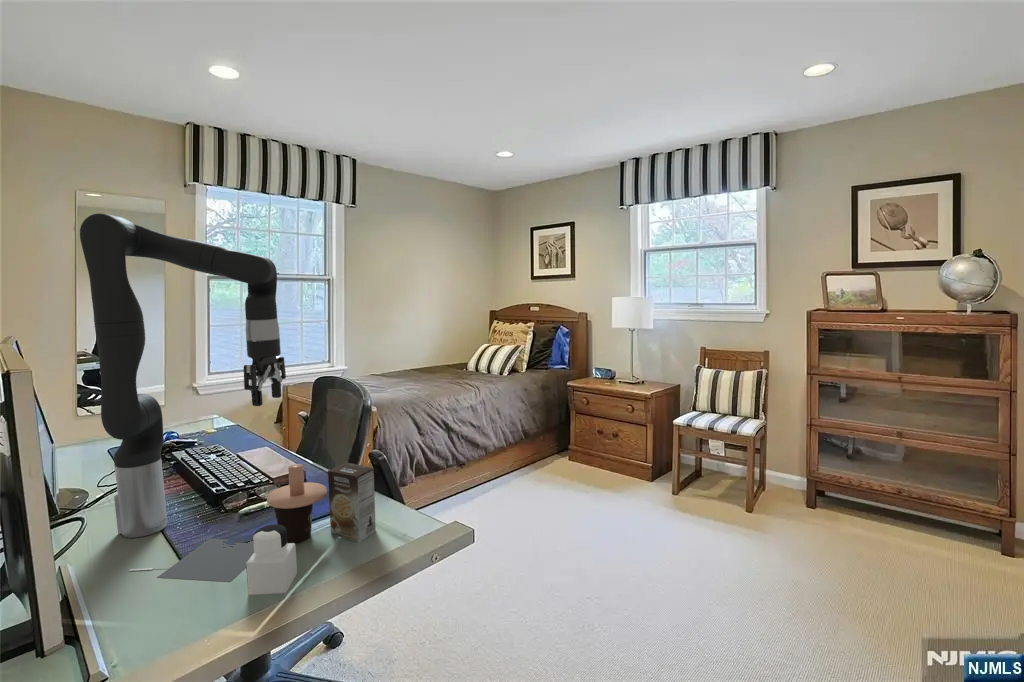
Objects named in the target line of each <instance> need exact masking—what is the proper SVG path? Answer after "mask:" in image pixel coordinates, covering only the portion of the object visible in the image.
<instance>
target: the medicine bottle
mask: <svg viewBox="0 0 1024 682" xmlns="http://www.w3.org/2000/svg"><path fill="white" fill-rule="evenodd" d="M252 539H253V540H252V541H253V542H254V554H253V555H252V556H251V557H250V559H249V560H248V561H247V563H246V568H245V569H246V570H245V571H246V579H247V594H248V596H255V595H272V594H286V593H288V590H289V588H290V587H291V585H292V583H293V581H294V580H295V578H296V576H297V575H298V568H297V567H298V565H297V563H298V562H297V550H296V549H297V548H296V544H295V543H287V529H286V527H284V526H283V525H278V524H268V525H265V526H262V527H260V528H258V529H257V530H256V531H254V533H253V535H252Z"/></svg>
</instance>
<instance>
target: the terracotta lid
mask: <svg viewBox="0 0 1024 682" xmlns="http://www.w3.org/2000/svg"><path fill="white" fill-rule="evenodd" d="M287 468H288V469H287V470H288V485H284V486H280V487H278V488H276V489H274V490H272V491H271V492H269V493H268V495H267V496H266V503H267V505H268V506H270V507H272V508H274V507H275V508H282V509H289V508H298V507H303V506H307V505H310V504H315V503H317V502H320V501H321V500H323V499H324V498H325V497H326V496H327V492H328V490H327V487H326V485H324V484H322V483H318V482H310V481H307V482H305V478H304V477H305V476H304V465H303V464H302V463H295V464H291V465H289V466H288V467H287Z"/></svg>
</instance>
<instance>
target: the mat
mask: <svg viewBox="0 0 1024 682" xmlns="http://www.w3.org/2000/svg"><path fill="white" fill-rule="evenodd" d="M227 540H228V539H223V538H222V539H221V538H209V539H207V540H206V541H205V542H203V543H201V544H200V545H199V546H198V547H196V548H195V549H194V550H192V551H191V552H190V553H188V554H187V555H186V556H184V557H183V558H181V559H180V560H178V562H176V563H175V564H173V565H172V566H170V567H169V568H167V569H165V571H164V572H163V573H161V574H160V575H158V576H157V577H156V578H157V579H172V580H173V579H174V580H175V579H176V580H189V581H208V582H223V583H231V582H232V581H233V580H234V579H235V578H237V577H238V576H239V575H240V574H241V573H242V572H243V571H245V569H246V563H247V561H248V560H249V559H250V557H251V556H252V555H253V554H254V542H253V540H249V541H250V542H248V543H235V544H236V545H229V544H226V543H223V541H227ZM227 542H228V541H227ZM223 544H224V545H223ZM227 545H228V546H233V547H228V546H227ZM223 547H225V548H223Z"/></svg>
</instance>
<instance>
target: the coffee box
mask: <svg viewBox="0 0 1024 682" xmlns="http://www.w3.org/2000/svg"><path fill="white" fill-rule="evenodd" d="M374 470H375V469H374V467H371V466H370V467H369V466H366V465H361V464H356V463H351V462H348V461H345V462H343V463H341V464H339V465H337V466H334V467H333V468H330V469H329V470H328V471H327V480H328V481H327V482H328V497H329V498H328V499H329V501H328V502H329V515H330V516H329V521H330V534H335V535H337V536H338V537H339V538H343V539H345V540H350V541H354V542H357V543H360V542H362V541H363V540H365V539H366V538H368V537H369V536H370V535H372V534H374V533H375V532H377V531H376V530H377V529H376V501H375V499H376V497H375V473H374V472H375V471H374Z"/></svg>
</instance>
